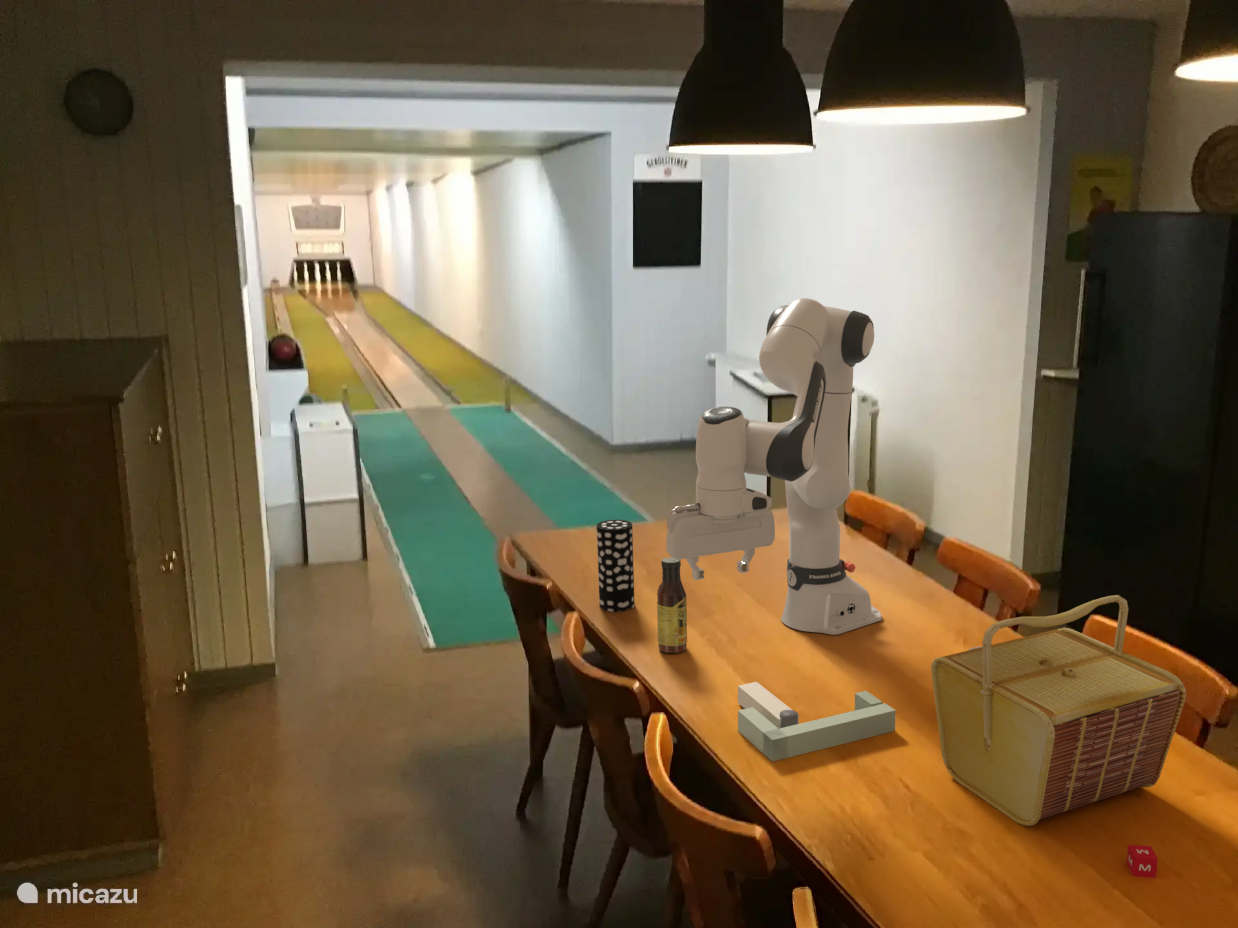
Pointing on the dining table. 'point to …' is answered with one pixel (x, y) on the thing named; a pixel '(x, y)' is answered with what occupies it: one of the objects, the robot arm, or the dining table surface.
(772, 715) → the bar
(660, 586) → the sauce bottle
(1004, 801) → the picnic basket
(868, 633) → the dining table surface
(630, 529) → the white-spotted black cylinder
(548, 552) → the dining table surface
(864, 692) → the frame
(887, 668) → the dining table surface
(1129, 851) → the dice
